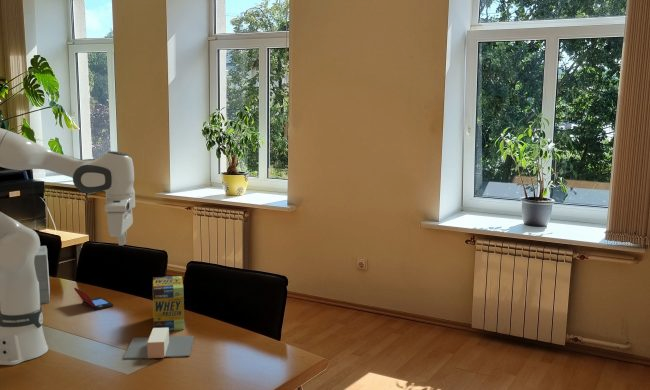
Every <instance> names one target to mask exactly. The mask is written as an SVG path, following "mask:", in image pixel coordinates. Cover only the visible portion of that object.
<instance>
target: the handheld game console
mask: <svg viewBox="0 0 650 390" xmlns="http://www.w3.org/2000/svg"><path fill="white" fill-rule="evenodd" d="M73 289H74V290H75V292H76V293H77V295H78V296H79V297H80V298H81V300H82V303H83V304H84V305H86V306H87V307H90V308H91V309H92V310H93V311H96V312H97V311H99V310H101V311H102V310H105V309H109V308H112V307H114V303H113V302H111V301H109V300H107V299H105V298H103V297H95V298H90V297H89V295H88V294H87V293H85V292H83V291H81V290H80V289H78V288H76V287H73Z"/></svg>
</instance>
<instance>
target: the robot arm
mask: <svg viewBox="0 0 650 390" xmlns="http://www.w3.org/2000/svg"><path fill="white" fill-rule="evenodd" d="M0 168H4V169H7V170H8V169H9V170H12V171H13V170H15V171H28V170H45V171H46V170H47V171H49V172H53V173H56V174H59V175H63V176H65V177H69V178H72V183H73V185H74V187H75V188H76V189H77V190H78V191H80V192H81V193H84V194H95V193H99V192H100V193H101V192H103V191H105V204H104V212H105V213H106V221H107V222H106V223H107V228H108V229H107V230H108V234H109V237H112V238H113V237H117V242H118V244H117V245H119V246H124V245H125V244H126V243H127V234H128V231H127V230H129V229H130V227H131V226H133V223H134V217H133V209H134V208H136V191H135V188H134V184H135V183H134V182H135V168H134V162H133V159H132V157H131V156H130V155H129V154H127V153H125V152H122V151H112V150H111V151H107V152H106V153H104V154H103V155H102V156H100V157H97V158H96V159H95V158H86V159H79V158H76V157H72V156H70V155H67V154H63V153H59V152H57V151H54V150H51V149H49V148H46V147H44V146H42V145H41V144H38V143H37V142H35V141H33V140H31V139H30V138H27V137H25V136H23V135H21V134H18V133H16V132H13V131H11V130H8V129H4V128H1V127H0ZM40 246H41V241H40V236H39V234H38V233H37V232H36V231H35V230H34V229H33V228H30V227H27V226H26V225H24V224H22V222H19V221H18V220H15V219H14V218H12V217H10V216H8V215H7V214H5V213H3V212H2V211H0V365H1V366H2V365H4V366H15V365H18V364H21V363H22V362H25V361H29V360H34V359H36V358H39V357H41V356H43V355H44V354H46V353H47V352H48V351H49V345H48V343H47V341H46V337H45V333H44V329H43V328H44V327H43V324H44V323H43V322H44V316H43V315H44V314H43V308H42V307H43V306H41V304H40V293H39V282H38V280H37V276H36V271H35V266H34V258H35V256H36V254H37V253H38V251H39V249H40Z"/></svg>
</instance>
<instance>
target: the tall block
mask: <svg viewBox="0 0 650 390" xmlns="http://www.w3.org/2000/svg"><path fill="white" fill-rule="evenodd" d="M148 337H149V340H148V342H147V349H148V358H147V359H165V358H164V357H165V354H166V351H167V347H168V344H169V337H170V331H169V328H154V327H153V328H152V330H151V332H150V335H149V336H148Z"/></svg>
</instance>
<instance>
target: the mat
mask: <svg viewBox="0 0 650 390" xmlns="http://www.w3.org/2000/svg"><path fill="white" fill-rule="evenodd" d="M149 337H150V336H148V337H132V339H131V340H130V343H129V345H128V348H127V349H126V351H125V353H124V356H123V360H139V359H142V358H145V359H149V358H148V349H147V342H148V340H149ZM194 338H195V335H184V336H183V335H182V336H181V335H179V336H177V335H176V336H169V344H168V347H167V351H166V354H165V357H171V358H181V357H180V356H190V355H191V352H192V348H191V347H193V343H194ZM190 357H191V356H190Z"/></svg>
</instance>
